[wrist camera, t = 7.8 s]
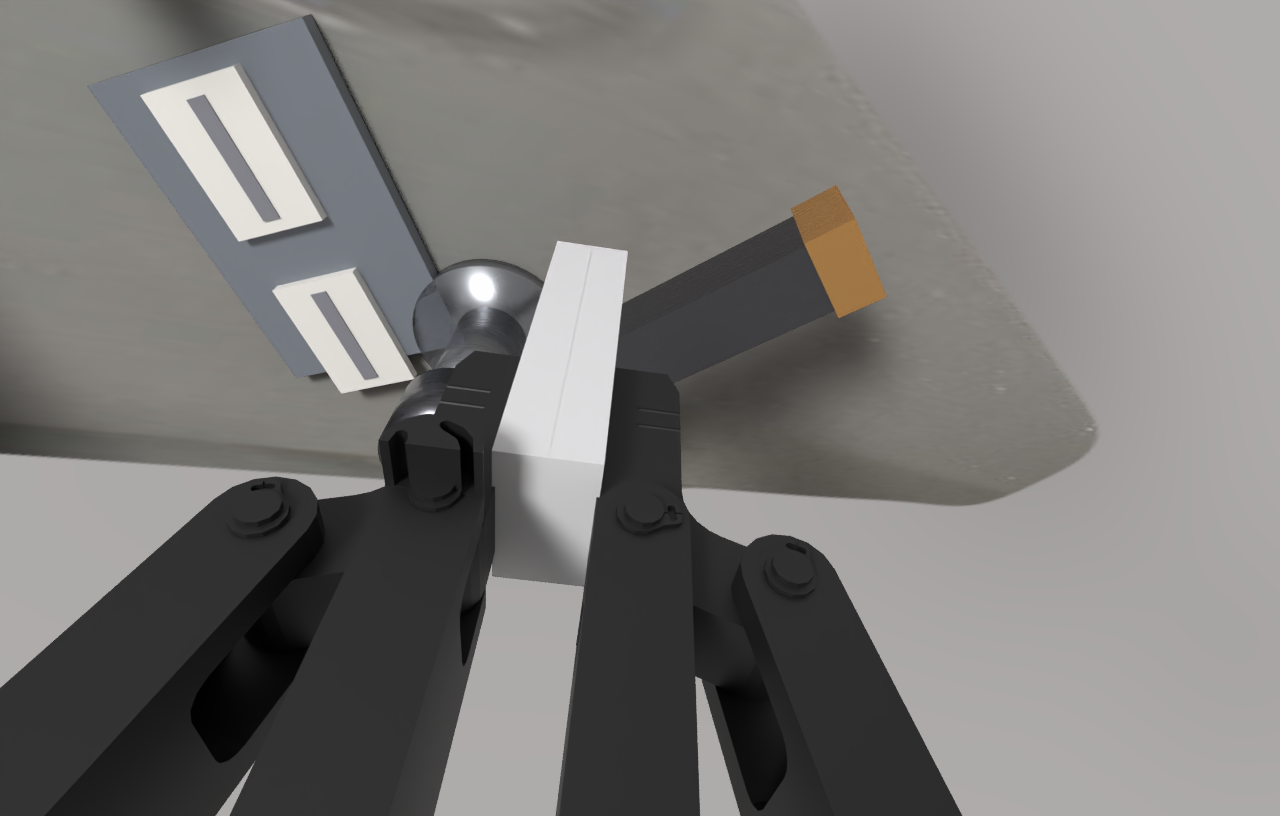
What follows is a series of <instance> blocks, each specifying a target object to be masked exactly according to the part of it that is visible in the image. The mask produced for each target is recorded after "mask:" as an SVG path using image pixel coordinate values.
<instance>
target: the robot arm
mask: <svg viewBox="0 0 1280 816" xmlns="http://www.w3.org/2000/svg"><path fill="white" fill-rule="evenodd" d="M627 253H628V251H623V250H616V249H609V248H602V247H595V246H589V245H582V244H575V243H568V242H561V241H557V244H556V248H555V251H554V254H553V257H552V260H551V264H550V267H549V270H548V273H547V276H546V279H545V283H544V286H543V289H542V292H541V295H540V299H539V302H538V305H537V308H536V311H535V314H534V318H533V321H532V324H531V327H530V330H529V334H528V337H527V340H526V343H525V346H524V349H523V353H522V356H521V357H520V356H512V355H505V354H497V353H490V352H482V351H474V352H472V353H471V354H470V355H468V356H467V357H466V358H465V359H463V360H462V361H461V362H460V363H458V364H457V365H456V366H455V368H454V371H453V373H452V375H451V377H450V380H449V382H448V384H447V388H446V389H445V391H444V393H443V395H442V398H441V401H440V404H438V406H437V409H436V411H435V413H434V414H423V415H418V416H414V417H410V418H406V419H404V420H402V421H400V422H399V423H397V424H395V425H393V426H391V427H390V428H389V429H388V430H387V431H386V432H385V433H384V434H383V436H382V437H381V438H380V439H379V447H380V453H381V460H382V466H383V473H384V479H385V487H382V488H380V489H377V490H374V491H372V492H368V493H363V494H358V495H353V496H344V497H336V498H329V499H321V500H317V498H316V496H315V495H314V493H313V491H312V490H311V488H310V487H308V486H306V485H304V484H303V483H301V482H299V481H297V480H295V479H288V478H281V477H269V478H261V479H253V480H251V481H248V482H245V483H242V484H240V485H237V486H234V487H232V488H230V489H229V490H227V491H226V492H224V493H223V494H221V495H220V496H218V497H217V498H215V499H214V500H213V501H212V502H210V503H209V504H208V505H207V506H206V507H205V508H204V509H202V510H201V511H200V512H199V513H198V514H197V515H196V516H194V517H193V518H192V519H191V520H190V521H189V522H188V523H187V524H185V525H184V526H183V527H182V528H181V529H180V530H179V531H178V532H176V533H175V534H174V535H173V536H172V537H171V538H170V539H169V540H167V541H166V542H165V543H164V544H163V545H162V546H161V547H159V548H158V549H157V550H156V551H155V552H154V553H153V554H151V555H150V556H149V557H148V558H147V559H146V560H145V561H144V562H143V563H141V564H140V565H139V566H138V567H137V568H136V569H135V570H133V571H132V572H131V573H130V574H129V575H128V576H127V577H125V578H124V579H123V580H122V581H121V582H120V583H119V584H118V585H116V586H115V587H114V588H113V589H112V590H111V591H110V592H108V593H107V594H106V595H105V596H104V597H103V598H102V599H101V600H100V601H98V602H97V603H96V604H95V605H94V606H93V607H92V608H90V610H88V611H87V612H86V613H85V614H84V615H82V616H81V617H80V618H79V619H78V620H77V621H76V622H75V623H74V624H72V625H71V626H70V627H69V628H68V629H67V630H66V631H64V632H63V633H62V634H61V635H60V636H59V637H58V638H56V639H55V640H54V641H53V642H52V643H51V644H50V645H48V646H47V647H46V648H45V649H44V650H43V651H42V652H41V653H40V654H39V655H37V656H36V657H35V658H34V659H33V660H32V661H30V662H29V663H28V664H27V665H26V666H25V667H24V668H23V669H21V670H20V671H19V672H18V673H17V674H16V675H15V676H14V677H12V678H11V679H10V680H9V681H8V682H7V683H5V684H4V685H3V686H2V687H1V688H0V816H215V815H216V814H217V813H218V811H219V810H220V808H221V807H222V806H223V804H224V803H225V802H226V800H227V798H228V797H229V796H230V795H231V793H232V792H233V791H234V789H235V788H236V787H237V785H238V784H239V782H240V781H241V780H242V778H243V777H244V775H245V774H246V773H247V771H248V770H249V769H250V767H251V766H252V764H253V763H254V762H255V763H254V765H253V767H252V769H251V772H250V774H249V776H248V778H247V780H246V782H245V784H244V786H243V789H242V791H241V793H240V795H239V797H238V799H237V801H236V803H235V805H234V807H233V810H232V812H231V814H230V816H434V812H435V808H436V804H437V800H438V796H439V792H440V788H441V784H442V780H443V776H444V772H445V768H446V764H447V760H448V756H449V752H450V748H451V744H452V740H453V736H454V732H455V728H456V724H457V720H458V716H459V712H460V708H461V704H462V700H463V696H464V692H465V688H466V684H467V680H468V677H469V672H470V668H471V664H472V660H473V657H474V652H475V649H476V645H477V641H478V636H479V633H480V629H481V625H482V621H483V616H484V612H485V608H486V584H487V580H488V576H489V572H490V568H491V565H492V576H495V577H503V578H513V579H521V580H530V581H539V582H549V583H557V584H566V585H574V586H583V587H584V593H583V602H582V608H581V615H580V622H579V629H578V636H577V643H576V646H577V647H576V655H575V664H574V671H573V680H572V688H571V696H570V704H569V713H568V720H567V728H566V736H565V745H564V753H563V761H562V770H561V777H560V785H559V793H558V803H557V811H556V816H700V803H699V773H698V743H697V714H696V684H695V676H696V677H698V678H701V679H702V683H703V686H704V689H705V693H706V696H707V700H708V703H709V707H710V711H711V714H712V718H713V721H714V725H715V728H716V731H717V735H718V739H719V742H720V745H721V749H722V753H723V756H724V760H725V763H726V766H727V769H728V773H729V777H730V780H731V784H732V787H733V791H734V794H735V798H736V801H737V805H738V808H739V812H740V815H741V816H962V815H961V812H960V811H959V809H958V807H957V805H956V803H955V801H954V799H953V797H952V795H951V793H950V791H949V789H948V787H947V785H946V784H945V782H944V780H943V778H942V776H941V774H940V772H939V770H938V768H937V766H936V764H935V762H934V760H933V758H932V757H931V755H930V753H929V751H928V749H927V747H926V745H925V743H924V741H923V739H922V737H921V735H920V733H919V731H918V729H917V727H916V726H915V724H914V722H913V720H912V718H911V716H910V714H909V712H908V710H907V708H906V706H905V704H904V703H903V700H902V699H901V697H900V695H899V693H898V691H897V689H896V687H895V685H894V683H893V681H892V679H891V677H890V675H889V673H888V672H887V669H886V668H885V666H884V664H883V662H882V660H881V658H880V656H879V654H878V652H877V650H876V648H875V646H874V644H873V642H872V640H871V639H870V637H869V635H868V633H867V631H866V629H865V627H864V625H863V623H862V621H861V619H860V617H859V615H858V613H857V612H856V610H855V608H854V606H853V604H852V602H851V600H850V598H849V596H848V595H847V592H846V590H845V588H844V586H843V584H842V583H841V581H840V579H839V577H838V575H837V573H836V571H835V569H834V568H833V567H832V565H831V564H830V563H829V561H828V560H827V559H826V557H825V556H824V555H823V554H822V553H821V552H819V551H818V550H817V549H815V548H814V547H813V546H811V545H810V544H809V543H807V542H804V541H801V540H799V539H796V538H794V537H791V536H783V535H773V534H772V535H768V536H764V537H761V538H757V539H756V540H754V541H753V542H752V543H751V544H750V545H748V546H747V547H746V546H743V545H740V544H738V543H735V542H733V541H731V540H728V539H726V538H723V537H720V536H719V535H717V534H715V533H713V532H711V531H709V530H707V529H706V528H705V527H703V526H702V525H701V524H700V523H698V522H697V521H696V520H695V519H694V517H693V516H692V515H691V514H690V513H689V511H688V509H687V507H686V506H685V503H684V501H683V496H682V484H681V444H680V417H679V414H680V405H679V392H678V390H677V389H676V387H675V386H674V384H673V382H672V381H671V379H670V377H669V376H668V374H660V373H653V372H645V371H638V370H630V369H623V368H615V363H616V354H617V345H618V335H619V326H620V317H621V308H622V299H623V290H624V280H625V271H626V262H627ZM255 760H256V761H255Z"/></svg>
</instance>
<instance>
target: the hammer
mask: <svg viewBox="0 0 1280 816" xmlns="http://www.w3.org/2000/svg"><path fill="white" fill-rule="evenodd" d="M791 211H792V213H793V217H791V218H789V219H787V220H785V221H783V222H781V223H779V224H777V225H775V226H773V227H771V228H769V229H768V230H766V231H764V232H762V233H760V234H758V235H756V236H754V237H752V238H750V239H748V240H746V241H744V242H742V243H740V244H738V245H736V246H734V247H732V248H730V249H728V250H727V251H725V252H723V253H721V254H719V255H717V256H715V257H713V258H711V259H709V260H707V261H705V262H703V263H701V264H699V265H697V266H695V267H693V268H691V269H689V270H688V271H686V272H684V273H682V274H680V275H678V276H676V277H674V278H672V279H670V280H668V281H666V282H664V283H662V284H660V285H658V286H656V287H654V288H652V289H650V290H648V291H647V292H645V293H643V294H641V295H639V296H637V297H635V298H633V299H631V300H629V301H627V302H625V303H623V304H622V308H621V317H620V326H619V335H618V345H617V354H616V363H615V368H623V369H630V370H638V371H645V372H653V373H660V374H668V376H669V377H670V379H671V381H672V382H673V383H675V382H677V381H679V380H681V379H683V378H686V377H688V376H690V375H692V374H695V373H697V372H699V371H701V370H704V369H706V368H708V367H710V366H712V365H715V364H717V363H719V362H721V361H724V360H726V359H728V358H730V357H733V356H735V355H737V354H739V353H741V352H744V351H746V350H748V349H750V348H753V347H755V346H757V345H759V344H762V343H764V342H766V341H768V340H770V339H773V338H775V337H777V336H779V335H782V334H784V333H786V332H788V331H791V330H793V329H795V328H797V327H799V326H802V325H804V324H806V323H808V322H811V321H813V320H815V319H817V318H820V317H822V316H824V315H826V314H828V313H831V312H833V311H835V312H836V314H837V316H838V318H840V317H842V316H845V315H847V314H849V313H851V312H854V311H856V310H858V309H860V308H863V307H865V306H867V305H869V304H872V303H874V302H876V301H879V300H881V299H883V298H885V297H887V296H886V294H885V291H884V289H883V286H882V284H881V281H880V279H879V276H878V274H877V271H876V269H875V266H874V264H873V261H872V259H871V256H870V254H869V251H868V249H867V246H866V244H865V241H864V239H863V236H862V234H861V231H860V229H859V226H858V224H857V221H856V219H855V217H854V215H853V214H852V212H851V210H850V208H849V207H848V205H847V203H846V201H845V200H844V198H843V196H842V194H841V193H840V191H839V189H838V187H837V186H834V187H832V188H830V189H828V190H826V191H824V192H822V193H820V194H818V195H816V196H814V197H812V198H810V199H809V200H807V201H805V202H803V203H801V204H799V205H797V206H795V207H793V208H791ZM520 357H521V356H520ZM453 371H454V368H438V369H433V370H429V371H426V372H424V373H422V374H420V375H419V376H417V377H416V378H414V379H413V380H412V381H411V382H410V384H409V385H408V386H407V388H406V390H405V392H404V394H403V395H402V397H401V399H400V401H399V403H398V405H397V407H396V408H395V410H394V412H393V414H392V416H391V418H390V420H389V422H388V423H387V425H386V427H385V429H384V431H383V433H382V435H381V437H382V436H383V434H384V433H385V432H386V431H387V430H388V429H389V428H390V427H391V426H393V425H395V424H397V423H399V422H400V421H402V420H404V419H406V418H410V417H414V416H418V415H423V414H434V413H435V411H436V409H437V406H438V404H440V401H441V398H442V395H443V393H444V391H445V389H446V388H447V384H448V382H449V380H450V377H451V375H452V373H453ZM381 437H380V438H381ZM378 455H379V459H380V462H381V464H382V460H381V453H380V447H379V443H378Z"/></svg>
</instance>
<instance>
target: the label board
mask: <svg viewBox="0 0 1280 816" xmlns="http://www.w3.org/2000/svg"><path fill="white" fill-rule="evenodd" d="M87 87H88V88H89V90H90V91H91V92H92V94H93V95H94V97H95V98H96V99H97V101H98V102H99V104H100V105H101V106H102V108H103V109H104V111H105V112H106V113H107V115H108V116H109V118H110V119H111V120H112V122H113V123H114V125H115V126H116V127H117V129H118V130H119V132H120V133H121V134H122V136H123V137H124V139H125V140H126V141H127V143H128V144H129V145H130V147H131V148H132V150H133V151H134V152H135V154H136V155H137V157H138V158H139V159H140V161H141V162H142V164H143V165H144V166H145V168H146V169H147V171H148V172H149V173H150V175H151V176H152V178H153V179H154V180H155V182H156V183H157V185H158V186H159V187H160V189H161V190H162V192H163V193H164V194H165V196H166V197H167V199H168V200H169V201H170V203H171V204H172V206H173V207H174V208H175V210H176V211H177V213H178V214H179V215H180V217H181V218H182V219H183V221H184V222H185V224H186V225H187V226H188V228H189V229H190V231H191V232H192V233H193V235H194V236H195V238H196V239H197V240H198V242H199V243H200V245H201V246H202V247H203V249H204V250H205V252H206V253H207V254H208V256H209V257H210V259H211V260H212V261H213V263H214V264H215V266H216V267H217V268H218V270H219V271H220V273H221V274H222V275H223V277H224V278H225V280H226V281H227V282H228V284H229V285H230V287H231V288H232V289H233V291H234V292H235V293H236V295H237V296H238V298H239V299H240V300H241V302H242V303H243V305H244V306H245V307H246V309H247V310H248V312H249V313H250V314H251V316H252V317H253V319H254V320H255V321H256V323H257V324H258V326H259V327H260V328H261V330H262V331H263V333H264V334H265V335H266V337H267V338H268V340H269V341H270V342H271V344H272V345H273V347H274V348H275V349H276V351H277V352H278V354H279V355H280V356H281V358H282V359H283V361H284V362H285V363H286V365H287V366H288V368H289V369H290V370H291V372H292V373H293V374H294V376H295V377H296V378H299V377H304V376H309V375H314V374H319V373H324V372H327V373H328V375H329V376H330V378H331V379H332V381H333V382H334V383H335V385H336V386H337V388H338V389H339V391H340V392H341V393H346V392H351V391H356V390H361V389H366V388H371V387H376V386H382V385H387V384H392V383H397V382H402V381H407V380H412V379H414V378H415V377H416V375H417V372H416V371H415V369H414V367H413V365H412V364H411V362H410V360H409V358H408V357H407V355H412V354H416V353H421V352H422V351H423V350H424V352H426V351H431V350H436V349H437V348H438V349H441V348H442V347H443V348H444V347H445V346H447V344H448V342H449V340H450V338H451V336H452V334H453V332H454V330H455V329H453V328H456V326H455V325H454V322H452V321H453V320H452V319H451V316H450V314H448V313H449V312H447V311H448V310H447V308H446V306H445V304H442V303H444V302H443V300H442V298H441V296H439V295H440V294H439V292H438V290H437V288H436V287H435V286H434V288H435V289H433V290H437V291H436V292H435V293H434V292H433V293H430V294H429V292H431V291H429V292H428V291H427V290H432V288H433V284H434V283H433V280H434V278H435V277H436V275H437V270H436V268H435V266H434V264H433V262H432V260H431V258H430V256H429V254H428V252H427V250H426V248H425V246H424V244H423V242H422V240H421V238H420V236H419V234H418V232H417V230H416V228H415V225H414V223H413V221H412V219H411V217H410V215H409V213H408V211H407V209H406V207H405V205H404V203H403V201H402V199H401V197H400V195H399V193H398V191H397V189H396V187H395V185H394V183H393V180H392V178H391V176H390V174H389V172H388V170H387V168H386V166H385V164H384V162H383V160H382V158H381V156H380V154H379V152H378V150H377V148H376V146H375V144H374V142H373V140H372V138H371V135H370V133H369V131H368V129H367V127H366V125H365V123H364V121H363V119H362V117H361V115H360V113H359V111H358V109H357V107H356V105H355V103H354V101H353V99H352V97H351V95H350V93H349V90H348V88H347V86H346V84H345V82H344V80H343V78H342V76H341V74H340V72H339V70H338V68H337V66H336V64H335V62H334V60H333V58H332V56H331V54H330V52H329V50H328V48H327V46H326V43H325V41H324V39H323V37H322V35H321V33H320V31H319V29H318V27H317V25H316V23H315V21H314V19H313V17H312V15H311V14H310V15H307V16H304V17H300V18H297V19H294V20H291V21H288V22H285V23H282V24H279V25H276V26H272V27H269V28H266V29H263V30H260V31H257V32H254V33H251V34H248V35H244V36H241V37H238V38H235V39H232V40H229V41H226V42H223V43H220V44H217V45H213V46H210V47H207V48H204V49H201V50H198V51H195V52H192V53H189V54H185V55H182V56H179V57H176V58H173V59H170V60H167V61H164V62H161V63H157V64H154V65H151V66H148V67H145V68H142V69H139V70H136V71H133V72H129V73H126V74H123V75H120V76H117V77H114V78H111V79H108V80H105V81H102V82H98V83H95V84H92V85H89V86H87ZM430 283H431V284H432V285H431V284H430ZM429 284H430V285H431V287H432V288H431V289H430V286H429ZM434 285H435V284H434ZM427 286H428V287H429V288H428V287H427ZM426 287H427V289H426V290H424V289H425V288H426ZM423 290H424V292H425V291H427V292H426V294H427V295H428V294H429V295H430V297H431V298H430V297H429V295H428V297H429V298H428V297H427V295H426V299H425V298H424V296H423V295H425V294H424V292H423ZM422 292H423V294H421V293H422ZM437 292H438V293H437ZM436 293H437V294H436ZM420 294H421V295H422V296H423V298H422V296H421V295H420ZM434 294H435V295H434ZM432 295H433V296H432ZM437 295H438V296H439V297H438V296H437ZM420 296H421V297H420ZM418 298H420V299H419V300H420V301H419V300H418ZM437 298H438V299H439V298H440V299H439V300H438V299H437ZM424 299H425V300H424ZM434 299H435V300H436V301H435V300H434ZM417 300H418V301H417ZM430 300H433V301H431V302H432V303H434V304H436V303H437V304H436V305H437V306H436V305H434V304H432V303H431V302H430ZM437 300H438V301H439V302H440V303H439V302H438V301H437ZM416 301H417V302H419V303H420V304H419V303H418V304H416V303H417V302H416ZM421 301H422V302H421ZM425 301H426V302H425ZM428 301H429V302H428ZM441 301H442V302H441ZM423 302H424V303H425V304H426V305H427V304H428V305H429V303H430V304H431V305H429V306H430V307H429V306H428V305H427V307H426V308H427V309H426V308H425V304H424V303H423ZM421 303H422V305H421ZM415 304H416V306H415ZM417 305H418V306H420V307H421V308H420V307H418V306H417ZM441 305H442V306H443V305H444V306H445V307H444V306H443V307H442V306H441ZM422 306H423V307H422ZM434 306H435V307H436V308H437V309H435V307H434ZM438 306H439V307H438ZM414 307H416V310H417V311H416V310H415V309H414ZM441 307H442V308H441ZM417 308H418V309H419V310H418V309H417ZM430 308H432V310H431V309H430ZM444 308H445V309H446V310H447V311H446V310H445V309H444ZM414 310H415V315H416V314H417V315H418V316H417V315H416V316H417V318H416V316H415V317H414V315H413V314H414ZM429 310H430V311H429ZM437 310H438V311H439V312H438V311H437ZM443 310H444V312H443ZM419 311H421V312H419ZM425 311H426V312H425ZM427 311H428V312H427ZM431 311H434V312H432V313H431ZM424 312H425V313H426V314H425V313H424ZM435 312H437V313H436V316H435V315H434V316H435V317H434V316H433V315H432V316H431V314H434V313H435ZM439 313H444V315H445V318H444V317H442V316H444V315H443V314H442V315H441V314H439ZM422 314H423V315H422ZM446 314H447V316H446ZM429 315H430V316H431V317H430V316H429ZM438 315H439V316H440V317H439V316H438ZM419 316H420V317H419ZM426 316H427V317H426ZM437 316H438V317H437ZM449 316H450V317H449ZM413 317H414V318H416V319H417V321H418V320H419V321H418V322H417V321H416V320H415V319H414V321H415V323H417V324H416V325H415V328H416V331H417V332H416V331H414V332H416V334H418V333H419V334H420V333H421V334H420V335H419V334H418V335H417V336H418V337H419V339H420V338H421V339H420V340H421V342H418V341H417V342H418V343H416V340H419V339H418V338H416V337H415V336H416V334H415V333H413V329H414V328H413V326H414V325H413V323H412V318H413ZM424 317H426V318H427V319H426V318H425V319H424ZM432 317H433V318H432ZM419 318H420V319H422V318H423V319H422V320H423V321H422V320H420V319H419ZM435 318H436V319H437V320H436V319H435ZM438 318H439V319H440V320H439V319H438ZM428 319H429V320H428ZM430 319H431V320H430ZM444 319H446V320H444ZM447 319H448V320H447ZM424 320H425V322H424ZM414 321H413V322H414ZM421 321H422V322H424V323H423V326H422V322H421ZM433 321H434V323H433ZM438 321H439V322H438ZM440 321H441V322H440ZM443 321H444V322H443ZM447 321H449V322H450V321H451V322H450V323H451V324H449V322H447ZM435 322H437V323H435ZM446 322H447V323H446ZM430 323H431V324H430ZM432 323H433V324H434V325H433V324H432ZM440 323H441V324H440ZM443 323H444V325H443ZM424 324H426V325H424ZM427 324H428V325H429V326H428V325H427ZM435 324H436V325H435ZM445 324H446V325H445ZM417 325H418V326H417ZM420 325H421V326H420ZM442 325H443V326H444V328H442V327H443V326H442ZM451 325H452V326H453V327H452V326H451ZM416 326H417V327H418V328H417V327H416ZM424 326H425V328H424ZM438 326H440V327H441V329H440V327H438ZM445 326H446V328H445ZM450 326H451V328H452V329H451V328H450ZM419 327H420V329H421V330H420V329H419ZM432 327H433V328H432ZM435 327H436V329H435ZM426 328H428V329H429V330H430V331H429V330H428V329H426ZM431 328H432V329H433V330H432V331H431ZM447 328H448V330H447ZM434 329H435V330H434ZM437 329H438V330H437ZM442 329H443V330H444V329H445V330H446V331H445V330H444V331H442ZM449 329H450V330H449ZM423 330H424V331H423ZM426 330H427V332H426ZM436 330H437V331H436ZM439 330H440V331H439ZM419 331H420V332H419ZM435 331H436V333H435ZM447 331H448V332H447ZM450 331H452V332H450ZM423 332H424V333H423ZM430 332H432V333H430ZM441 332H442V333H441ZM444 332H445V333H444ZM446 332H447V333H446ZM428 333H429V334H428ZM434 333H435V334H434ZM450 333H451V335H449V334H450ZM414 334H415V336H414ZM440 334H441V335H442V334H443V335H442V336H441V335H440ZM446 334H447V335H446ZM425 335H426V336H425ZM427 335H428V336H427ZM434 335H435V336H434ZM420 336H421V337H420ZM433 336H434V338H433ZM447 336H448V338H449V339H448V338H447ZM449 336H450V337H449ZM423 337H424V338H423ZM426 337H428V338H429V337H430V339H428V338H426ZM431 337H432V338H433V339H434V340H433V339H432V338H431ZM439 337H441V338H439ZM442 337H443V338H442ZM425 338H426V339H425ZM446 338H447V339H446ZM436 339H437V341H436ZM438 339H439V340H438ZM420 340H419V341H420ZM423 340H425V341H423ZM426 340H427V341H426ZM431 340H433V341H431ZM441 340H442V343H440V342H441ZM429 341H431V342H429ZM445 341H446V342H445ZM422 342H423V343H422ZM425 342H426V343H425ZM427 342H428V343H427ZM433 342H434V344H433ZM436 342H437V343H436ZM438 342H439V343H440V344H439V343H438ZM443 342H444V343H443ZM424 343H425V344H424ZM418 344H419V346H420V345H421V344H422V345H421V347H422V346H423V344H424V348H423V347H422V348H423V349H422V348H421V347H419V346H418ZM435 344H436V345H435ZM437 344H438V345H440V346H441V347H440V346H438V345H437ZM445 344H446V345H445ZM427 345H428V346H427ZM432 345H433V346H434V347H435V349H434V347H433V346H432ZM429 346H430V347H429ZM418 347H419V348H420V350H419V348H418ZM428 347H429V348H430V349H431V350H430V349H429V348H428ZM439 347H440V348H439ZM427 348H428V349H427ZM432 348H433V349H432ZM445 348H446V347H445ZM421 350H422V351H421ZM425 350H426V351H425Z"/></svg>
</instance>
